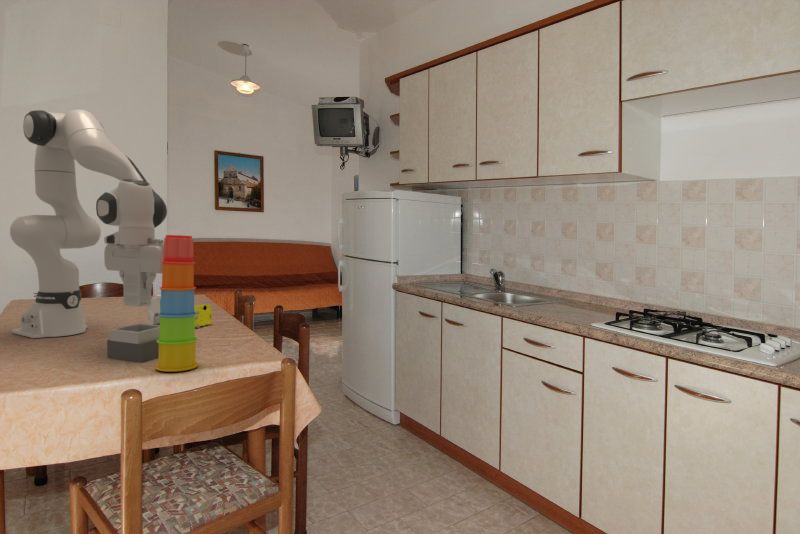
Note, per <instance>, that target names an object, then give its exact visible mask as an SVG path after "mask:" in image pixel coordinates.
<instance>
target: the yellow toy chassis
mask: <svg viewBox="0 0 800 534" xmlns="http://www.w3.org/2000/svg"><path fill="white" fill-rule="evenodd" d="M212 310H213V309H212V306H211V305H210V304H208V303H205V304H199V305H194V312H196V313H197V314H196V315H195V329H199V328H200V327H201V326H203V327H206V325H210V324H212V320H213V319H212V317H213V316H212V315H213V314H212V312H213V311H212ZM201 328H202V327H201Z"/></svg>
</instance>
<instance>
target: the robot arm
mask: <svg viewBox="0 0 800 534" xmlns="http://www.w3.org/2000/svg"><path fill="white" fill-rule="evenodd" d="M22 130H23V134H24V136H25V138H26V140H27V141H28V142H29V143H32V144H33V145H35V146H36V148H35V154H34V155H35V156H34V187H35V194H36V196H37V197H38V199H40V201H41V202H43V203H45V204H48V205H50V206H51V207H52V209H53V211H54V212H55V215H53V214H50V215H49V214H48V215H47V214H30V215H24V216H19V217H17V218H15V219H14V220H13V221H12V223H11V225H10V228H9V235H10V238H11V240H12V242H13V243H14V244H15V245H16V246H18V248H20V249H22V250H23V251H25V252H26V253H27V254H28V255H29V256H30V257H31V258H32V260H33V262H34V264H35V267H36V270H37V277H38V292H33V295H34V296H33V297H34V298H35V297H36V298H35V299H34V300H35V301H34V302H35V303H33V304H32V306H30V307H29V308H28V309H27V310H25V311H24V312H23V313H22V314H21V315H20V316H21V317H20V326H19V327H16V328H13V329H11V334H16V335H19V336H23V337H27V338H31V339H38V338H39V339H40V338H51V337H52V338H55V337H65V336H73V335H77V334H82V333H85V332H86V331H87V329H88V324H86V319H85V314H84V313H85V312H84V306H83V304H82V303H81V300H82V291H81V289H80V269H79V268H78V266H77V265H76V264H75V263H74V262H72V261H70V260H68V259H66V258H64V257H63V256H62V254H61V250H63V249H64V250H66V249H84V248H88V247H92V246H95V245H96V244H97V243H98V242H99V241H100V238H101V234H102V233H101V232H102V231H101V228H100V225H99V223H98V222H97V221H96V220H95V219H94V218H92V217H91V216H90V215H89V214H88V213H87V212H86V211H85V210H84V208H83V206H82V205H81V202H80V200H79V197H78V190H77V181H76V180H77V179H76V176H77V175H76V163H75V161H76V162H77V163H78V164H79V165H80V166H81V167H83V168H85V169H86V170H89V171H93V172H96V173H98V174H100V173H101V174H103V175H106V176H110V177H113V178H114V179H117V180H119V183H118V186H117V187H116V188H114V189H112V190H110V191H108V192H106V191H105V192H104V193H102V194H101V195H100V196H99V197H98V198H97V200H96V203H95V204H96V206H95V210H96V215H97V217H98V218H99V221H101V222H102V223H103V224H104V225H109V226H116V227H117V226H118V231H115V232H113V233H111V234H108V235H106V236H104V239H103V241H104V244H105V247H104V267H105V268H106V270H107V271H117V272H119V277H120V279H121V281H122V284H123V285H122V287H123V288H124V263H135V264H140V270H141V272H145V273H146V277H148V278H147V281H146V282H145V283H144V289H151V290H152V289H153V288H154V287H153V283H154V281H155V280H156V278H157V274H162V267H163V263H161V261H163V259H164V239H155V229H156V228H157V227H158V226H160V225H161V224H162V223H163V222H164V221H165V220H166V218H167V215H168V209H167V204H166V202H165V201H164V200H163V198H162V197H161V196H160V195H159V194H158V193H157V192H156V191H155V190H154V189H153V187H152V185H151V183H149V182H148V181H147V179H146V178H145V177H144V175H143V174H142V172H140V169H139V168H138V166H137V165H136V164H135V163H134V162H133V160H131V158H129V157H128V156H127V155H126V154H124V153H123V152H122V151H121V150H119V148H118V147H116V146H115V144H114V143H113V142H112V141H111V140H110V138H109V136H108V134H107V133H106V130H105V128H104V127H103V125H102V123H101V122H100V121H99V120H98V119H97V118H96V116H95V115H94V114H92V112H90V111H88V110H85V109H79V108H78V109H72V110H69V111H67V112H66V113H61V112H54V111H53V112H52V111H46V110H37V109H36V110H30V111H29V112H28V113H27V114H26V115H25V116H24V119H23V124H22Z"/></svg>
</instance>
